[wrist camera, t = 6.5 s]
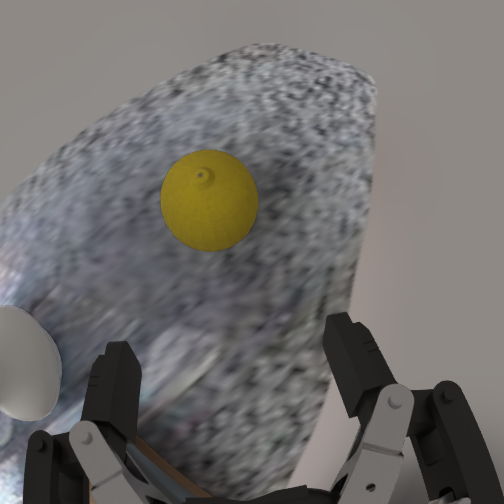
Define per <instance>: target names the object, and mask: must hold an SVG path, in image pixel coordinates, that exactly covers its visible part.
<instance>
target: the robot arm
mask: <svg viewBox="0 0 504 504" xmlns="http://www.w3.org/2000/svg"><path fill="white" fill-rule="evenodd" d="M323 347H324V351H325V354H326V357H327V360H328V362H329V365H330V368H331V370H332V373H333V376H334V378H335V381H336V384H337V386H338V389H339V392H340V394H341V397H342V400H343V403H344V405H345V408H346V411H347V413H348V416H349V418H352V417H356V416H358V419H359V422H360V424H361V425H360V427H359V430H358V432H357V435H356V437H355V440H354V442H353V445H352V447H351V450H350V452H349V454H348V457H347V459H346V461H345V463H344V465H343V466H342V468H341V470H340V471H339V473H338V475H337V477H336V479H335V481H334V483H333V485H332V487H331V489H330V491H326V490H322V489H314V488H307V486H306V485H303V486H298V487H294V488H288V489H282V490H277V491H274V492H271V493H269V494H266V495H264V496H261V497H258V498H255V499H253V500H250V501H237V500H230V499H223V498H217V497H197V498H186V497H185V500H186V502H182V503H179V504H388V502H389V500H390V497H391V494H392V492H393V490H394V487H395V484H396V482H397V479H398V476H399V473H400V470H401V467H402V464H403V459H404V455H403V454H402V448H403V444H404V441H405V437H408V436H409V437H410V439H411V442H412V445H413V448H414V451H415V454H416V457H417V460H418V463H419V466H420V470H421V473H422V476H423V479H424V483H425V486H426V489H427V493H428V497H429V500H430V502H429V503H428V504H504V496H503V493H502V489H501V487H500V483H499V480H498V477H497V474H496V471H495V468H494V465H493V462H492V459H491V457H490V454H489V451H488V449H487V446H486V443H485V441H484V439H483V436H482V434H481V431H480V429H479V427H478V424H477V422H476V420H475V418H474V415H473V413H472V411H471V409H470V406H469V404H468V402H467V400H466V398H465V396H464V394H463V392H462V390H461V388H460V387H459V386H458V385H457V384H456V383H454V382H452V381H442V382H440V383H439V384H437V385H436V386H435V388H434V389H429V390H409V389H408V388H407V387H405V386H403V385H401V384H398V383H397V382H396V380H395V378H394V377H393V375H392V373H391V371H390V369H389V367H388V365H387V363H386V361H385V359H384V357H383V355H382V353H381V351H380V350H379V347H378V346H377V344H376V342H375V340H374V338H373V336H372V334H371V333H370V331H369V330H368V329H367V328H366V327H365V326H364V325H363V324H361V323H360V322H357V323H352V321H351V319H350V317H349V315H348V313H347V312H341V313H336V314H331V315H328V316H327V318H326V325H325V331H324V336H323ZM141 378H142V371H141V366H140V363H139V361H138V360H137V358H136V356H135V354H134V353H133V351H132V349H131V347H130V346H129V344H128V342H126V341H117V342H109V343H108V344H107V347H106V351H105V355H99V356H98V358H97V359H96V361H95V362H94V364H93V366H92V370H91V374H90V378H89V382H88V387H87V391H86V396H85V401H84V405H83V411H82V416H81V420H80V422H78V423H76V424H75V425H74V426H73V427H72V429H71V431H70V432H67V433H62V434H58V435H52V436H51V435H50V434H49V433H47V432H46V431H43V430H39V431H36V432H34V433H33V434H32V435H31V436H30V438H29V441H28V447H27V455H26V463H25V473H24V487H23V504H90V493H89V480H90V482H91V483H92V486H93V488H92V489H91V494H92V496H93V498H94V500H95V501H96V503H97V504H172V503H171V502H170V501H169V499H168V498H167V497H166V496H165V495H164V494H163V493H162V492H161V491H160V490H158V489H157V488H156V487H155V486H154V485H153V484H152V483H151V482H150V480H149V479H148V478H147V477H146V475H145V474H144V473H143V471H142V470H141V469H140V467H139V466H138V465H137V463H136V462H135V461H134V459H133V458H132V456H131V455H130V454H129V452H128V451H127V450H126V445H127V444H133V445H136V429H137V417H138V405H139V395H140V386H141Z"/></svg>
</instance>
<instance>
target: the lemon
mask: <svg viewBox="0 0 504 504" xmlns="http://www.w3.org/2000/svg"><path fill="white" fill-rule="evenodd" d="M160 198H161V210H162V214H163V217H164V220H165V222H166V225H167V226H168V228H169V229H170V231H171V232H172V233H173V235H174V236H175V237H176V238H177V239H179V240H180V241H181V242H182V243H183V244H185V245H187V246H189V247H191V248H193V249H196V250H201V251H206V252H212V251H221V250H224V249H227V248H230V247H232V246H233V245H235V244H236V243H238V242H240V241H241V240H242V239H243V238H244V237H245V236H246V235H247V234H248V232H249V231H250V229H251V227H252V225H253V224H254V222H255V219H256V215H257V211H258V192H257V189H256V185H255V182H254V179H253V178H252V176H251V174H250V173H249V171H248V170H247V168H246V167H245V166H244V165H243V164H242V163H241V162H240V161H239V160H238V159H237V158H235V157H233V156H231V155H229V154H227V153H225V152H221V151H217V150H201V151H196V152H193V153H191V154H188V155H186V156H184V157H183V158H181V159H180V160H179V161H177V162H176V163H175V164H174V165H173V166H172V168H171V169H170V170H169V171H168V173H167V175H166V177H165V179H164V182H163V185H162V190H161V195H160Z"/></svg>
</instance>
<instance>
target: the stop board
mask: <svg viewBox="0 0 504 504" xmlns="http://www.w3.org/2000/svg"><path fill="white" fill-rule="evenodd" d="M126 450H127V451H128V452H129V454H130V455H131V456H132V458H133V459H134V461H135V462H136V463H137V465H138V466H139V467H140V469H141V470H142V471H143V473H144V474H145V475H146V477H147V478H148V479H149V480H150V482H151V483H152V484H153V485H154V486H155V487H156V488H157V489H158V490H160V491H161V492H162V493H163V494H164V495H165V496H166V497H167V498H168V499H169V501H170V502H171V503H172V504H179V503H182V502H186V500H185V497H186V498H197V497H213V496H211V495H210V494H208V493H207V492H206V491H204V490H203V489H201V488H200V487H199V486H197V485H196V484H194V483H193V482H192V481H190V480H189V479H188V478H187V477H185V476H184V475H183V474H181V473H180V472H179V471H178V470H176V469H175V468H174V467H173V466H171V465H170V464H169V463H168V462H167V461H165V460H164V459H163V458H162V457H161V456H160V455H159V454H157V453H156V452H155V451H154V450H153V449H152V448H151V447H150V446H149V445H147V444H146V443H145V442H144V441H143V440H142V439H141V438H140V437H139V436H138V435H137V434H136V445H133V444H127V445H126ZM92 488H93V486H92V483H91V482H90V480H89V493H90V504H97V503H96V501H95V500H94V498H93V496H92V494H91V489H92Z"/></svg>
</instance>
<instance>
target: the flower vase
mask: <svg viewBox="0 0 504 504" xmlns="http://www.w3.org/2000/svg"><path fill="white" fill-rule="evenodd" d="M61 377H62V361H61V356H60V353H59V351H58V348H57V346H56V344H55V342H54V340H53V339H52V337H51V336H50V335H49V334H48V332H47V331H46V330H44V329H43V328H42V327H41V325H40V324H39V323H38V322H37V320H36V319H35V318H34V317H32V316H31V315H30V314H29V313H27V312H26V311H25V310H23V309H21V308H18V307H16V306H13V305H2V306H0V411H1V412H3V413H4V414H6V415H7V416H9V417H11V418H14V419H17V420H21V421H25V422H28V421H36V420H41V419H43V418H45V417H46V416H47V415H49V414H50V413H51V412H52V411H53V409H54V407H55V405H56V404H57V402H58V398H59V393H60V388H61Z"/></svg>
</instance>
